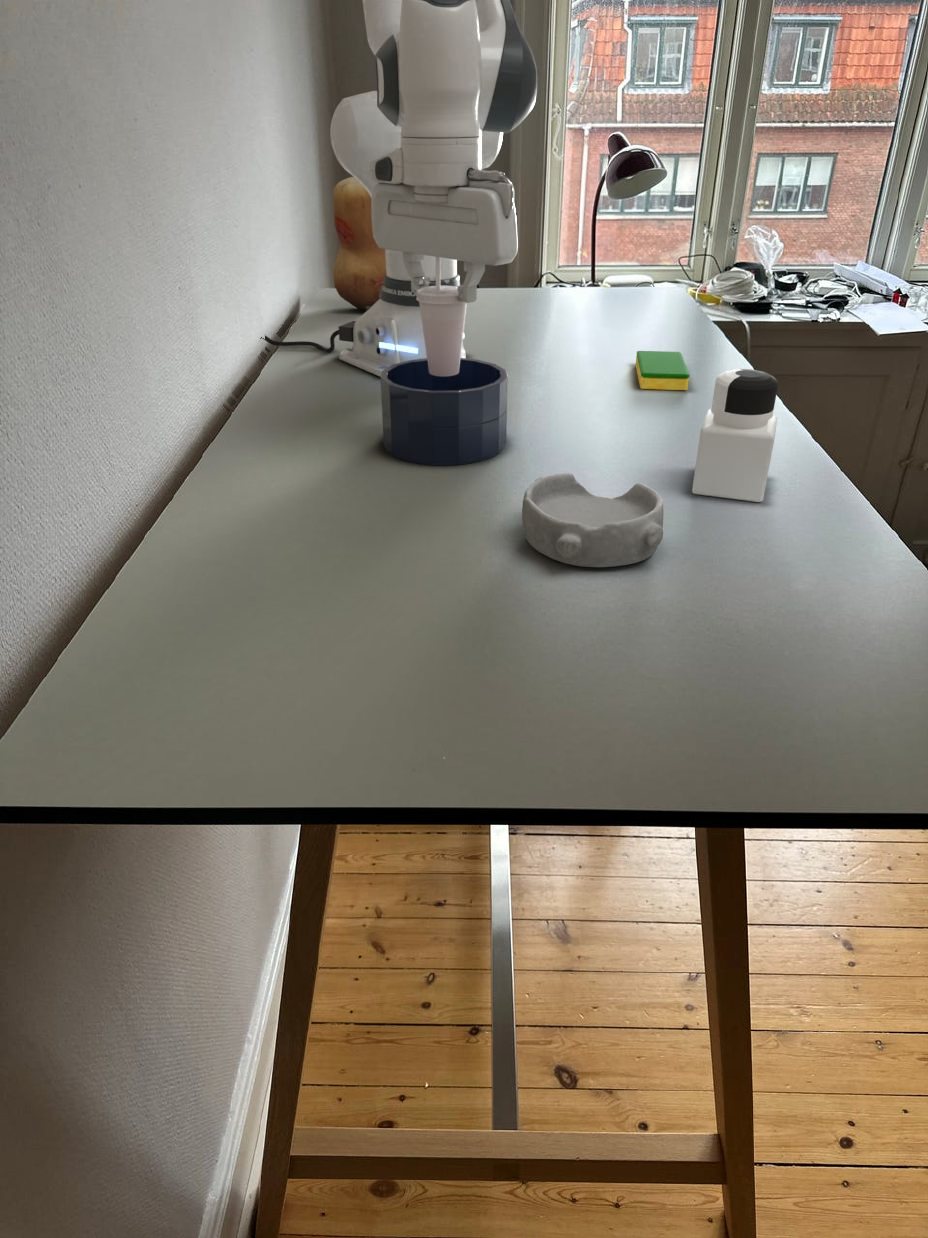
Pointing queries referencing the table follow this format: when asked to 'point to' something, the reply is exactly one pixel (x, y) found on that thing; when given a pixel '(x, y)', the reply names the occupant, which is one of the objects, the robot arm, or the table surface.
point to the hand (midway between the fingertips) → (443, 296)
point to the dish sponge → (661, 370)
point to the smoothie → (442, 326)
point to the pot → (444, 412)
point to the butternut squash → (356, 246)
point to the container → (737, 437)
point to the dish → (591, 522)
